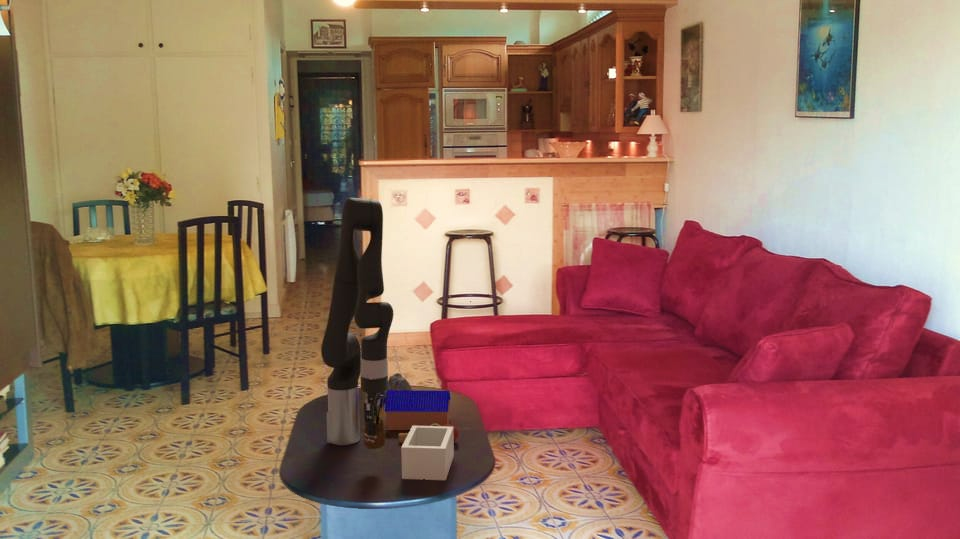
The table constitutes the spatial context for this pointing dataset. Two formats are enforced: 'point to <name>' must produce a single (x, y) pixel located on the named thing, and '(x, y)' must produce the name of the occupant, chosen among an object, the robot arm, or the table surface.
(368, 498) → the table surface
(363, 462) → the table surface
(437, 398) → the house
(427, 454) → the open rectangular box
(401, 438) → the kendama
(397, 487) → the table surface
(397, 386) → the mineral rock
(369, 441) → the utensil holder
